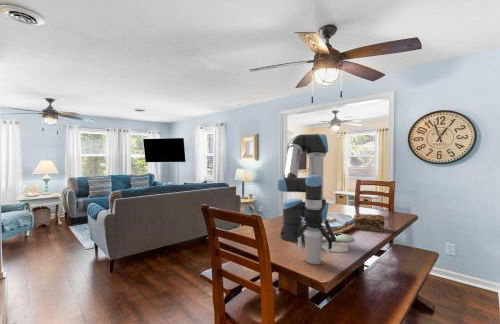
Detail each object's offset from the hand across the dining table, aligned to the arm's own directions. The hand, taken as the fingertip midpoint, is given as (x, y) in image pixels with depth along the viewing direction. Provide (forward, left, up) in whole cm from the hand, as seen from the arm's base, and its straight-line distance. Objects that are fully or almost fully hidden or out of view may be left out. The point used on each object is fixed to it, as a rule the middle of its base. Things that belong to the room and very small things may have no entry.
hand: (313, 252), depth 117 cm
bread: (+18, +71, -4) cm, 74 cm away
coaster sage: (+5, +41, -4) cm, 42 cm away
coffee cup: (0, 0, -4) cm, 4 cm away
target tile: (-4, +33, -4) cm, 34 cm away
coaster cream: (+5, +23, -4) cm, 24 cm away
